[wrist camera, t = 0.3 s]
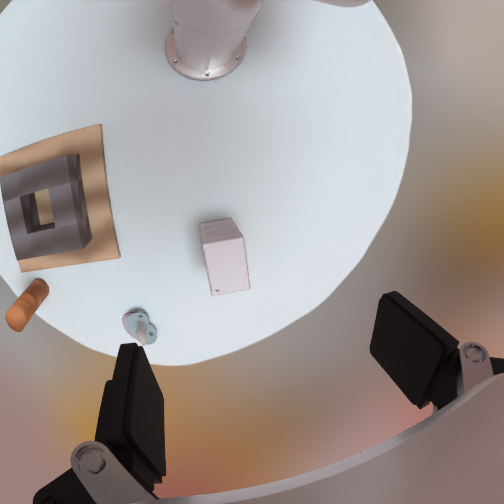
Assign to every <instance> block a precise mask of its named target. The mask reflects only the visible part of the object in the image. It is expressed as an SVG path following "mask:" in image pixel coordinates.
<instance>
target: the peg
mask: <svg viewBox="0 0 504 504" xmlns="http://www.w3.org/2000/svg"><path fill="white" fill-rule="evenodd" d="M48 294H49V287H48V285H47V283H46V282H45V281H44V280H43V279H40V278H37V279H35V280H34V281H33V282H32V283H31V284H30V286H29V287H28V288H27V289H26V290H25V291H24V292H23V293H22V295H21V296H20V297H19V298H18V299H17V300H16V302H15V303H14V304H13V305H12V306H11V307H10V309H9V310H8V311H7V312H6V314H5V319H6V322H7V324H8V325H9V327H10V328H11V329H13V330H14V331H17V332H21V331H22V330H23V329H24V327H25V325H26V324H27V323H28V321H29V320H30V318H31V317H32V315H33V314H34V313H35V311H36V310H37V309H38V307H39V306H40V305H41V303H42V302H43V301H44V299H45V298H46V297H47V295H48Z"/></svg>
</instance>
